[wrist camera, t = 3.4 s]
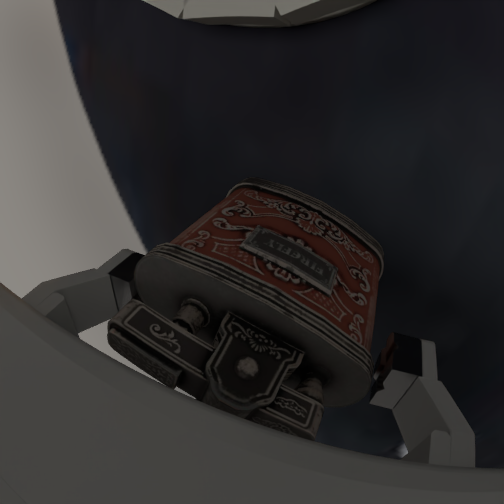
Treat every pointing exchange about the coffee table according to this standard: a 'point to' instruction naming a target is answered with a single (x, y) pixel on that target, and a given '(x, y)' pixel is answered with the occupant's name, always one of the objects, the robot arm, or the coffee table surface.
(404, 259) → the coffee table surface
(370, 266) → the lighter
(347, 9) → the ring dish
